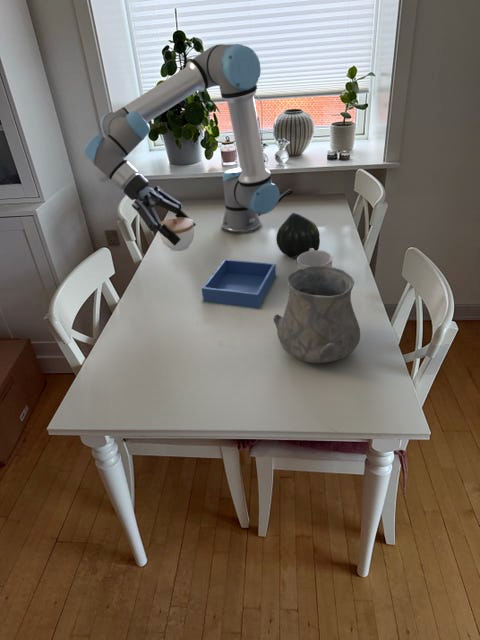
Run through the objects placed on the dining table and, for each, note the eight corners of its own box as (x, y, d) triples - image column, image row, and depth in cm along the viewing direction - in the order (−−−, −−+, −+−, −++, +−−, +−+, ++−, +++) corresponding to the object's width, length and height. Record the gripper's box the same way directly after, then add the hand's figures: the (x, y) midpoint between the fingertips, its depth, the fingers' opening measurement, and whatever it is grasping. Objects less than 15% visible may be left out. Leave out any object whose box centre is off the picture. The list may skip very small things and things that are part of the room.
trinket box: (181, 237, 147) (177, 209, 142) (203, 245, 141) (199, 216, 136) (155, 248, 141) (149, 220, 136) (176, 257, 135) (172, 228, 130)
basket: (225, 271, 153) (224, 259, 150) (275, 276, 147) (275, 263, 145) (203, 301, 138) (201, 288, 135) (258, 308, 132) (257, 294, 130)
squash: (320, 251, 148) (319, 207, 150) (275, 253, 151) (274, 210, 153) (319, 262, 162) (318, 222, 164) (278, 264, 165) (277, 224, 166)
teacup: (330, 289, 139) (331, 265, 134) (295, 287, 141) (295, 264, 136) (332, 267, 150) (333, 245, 145) (299, 266, 152) (299, 245, 148)
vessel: (292, 315, 128) (292, 251, 117) (369, 335, 118) (377, 267, 107) (256, 359, 113) (252, 291, 102) (341, 386, 103) (347, 313, 92)
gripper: (143, 178, 145) (193, 227, 149) (103, 203, 127) (162, 258, 131) (155, 162, 141) (207, 213, 145) (116, 186, 123) (176, 243, 127)
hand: (185, 234), depth 138 cm, fingers closed on trinket box, 11 cm apart
